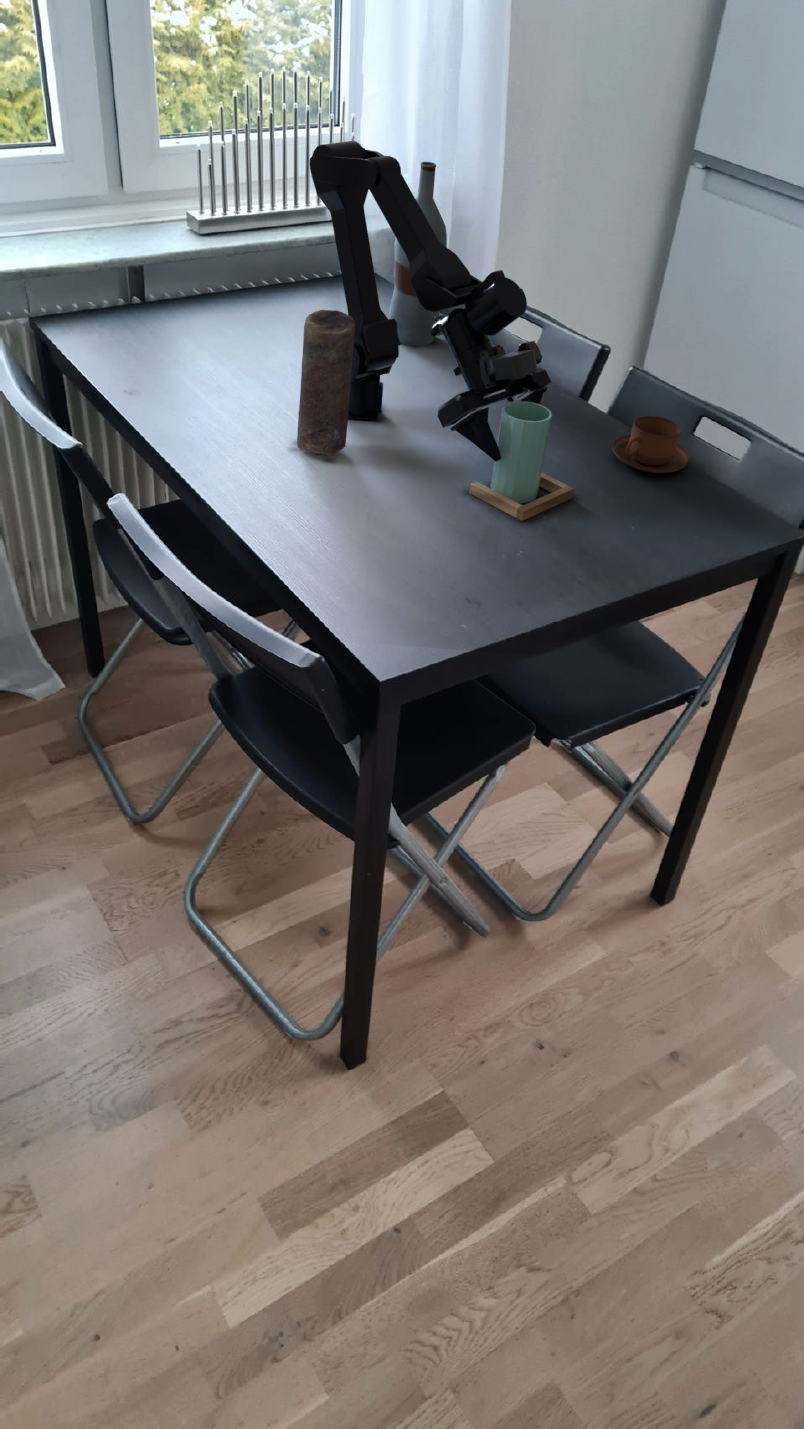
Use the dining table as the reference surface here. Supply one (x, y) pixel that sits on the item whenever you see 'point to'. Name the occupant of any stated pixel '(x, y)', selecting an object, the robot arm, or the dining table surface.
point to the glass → (521, 450)
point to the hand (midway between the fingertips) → (519, 452)
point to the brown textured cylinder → (325, 382)
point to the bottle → (404, 303)
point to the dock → (522, 512)
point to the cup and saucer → (652, 446)
